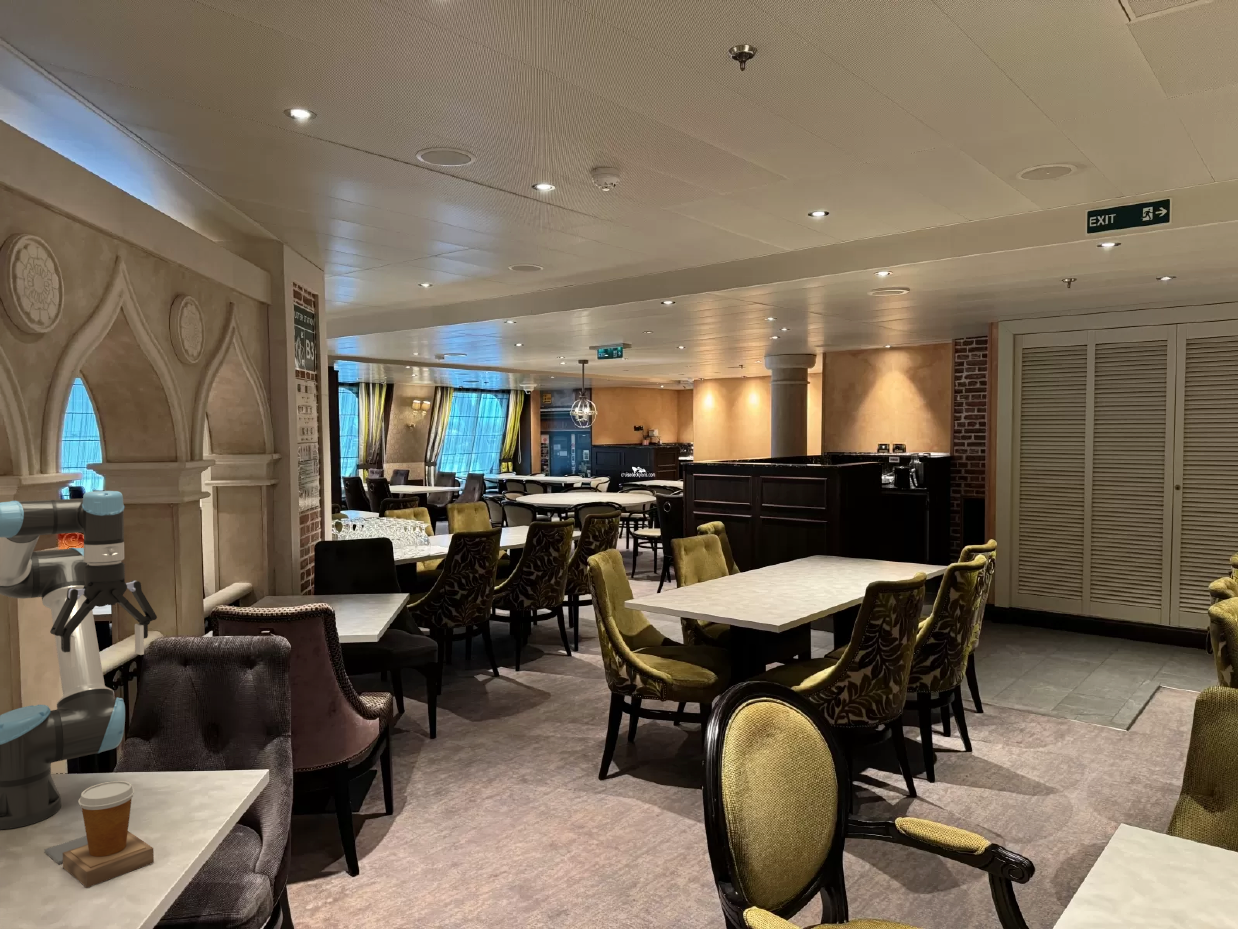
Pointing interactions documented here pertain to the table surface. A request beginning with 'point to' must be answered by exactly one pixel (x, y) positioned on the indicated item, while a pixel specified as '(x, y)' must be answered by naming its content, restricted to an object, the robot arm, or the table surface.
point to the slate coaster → (64, 848)
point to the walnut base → (107, 861)
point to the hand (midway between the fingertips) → (106, 660)
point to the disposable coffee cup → (106, 816)
